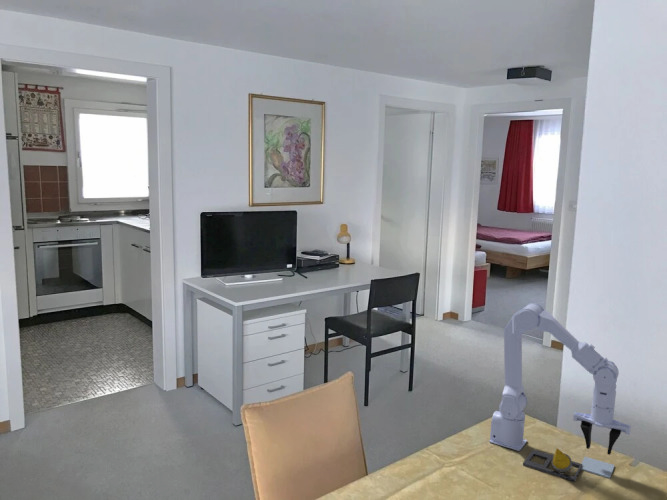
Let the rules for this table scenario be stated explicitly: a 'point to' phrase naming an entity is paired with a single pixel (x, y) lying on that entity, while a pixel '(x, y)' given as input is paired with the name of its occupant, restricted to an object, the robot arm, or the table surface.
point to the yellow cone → (561, 461)
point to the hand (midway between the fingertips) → (598, 450)
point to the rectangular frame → (546, 464)
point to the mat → (597, 467)
